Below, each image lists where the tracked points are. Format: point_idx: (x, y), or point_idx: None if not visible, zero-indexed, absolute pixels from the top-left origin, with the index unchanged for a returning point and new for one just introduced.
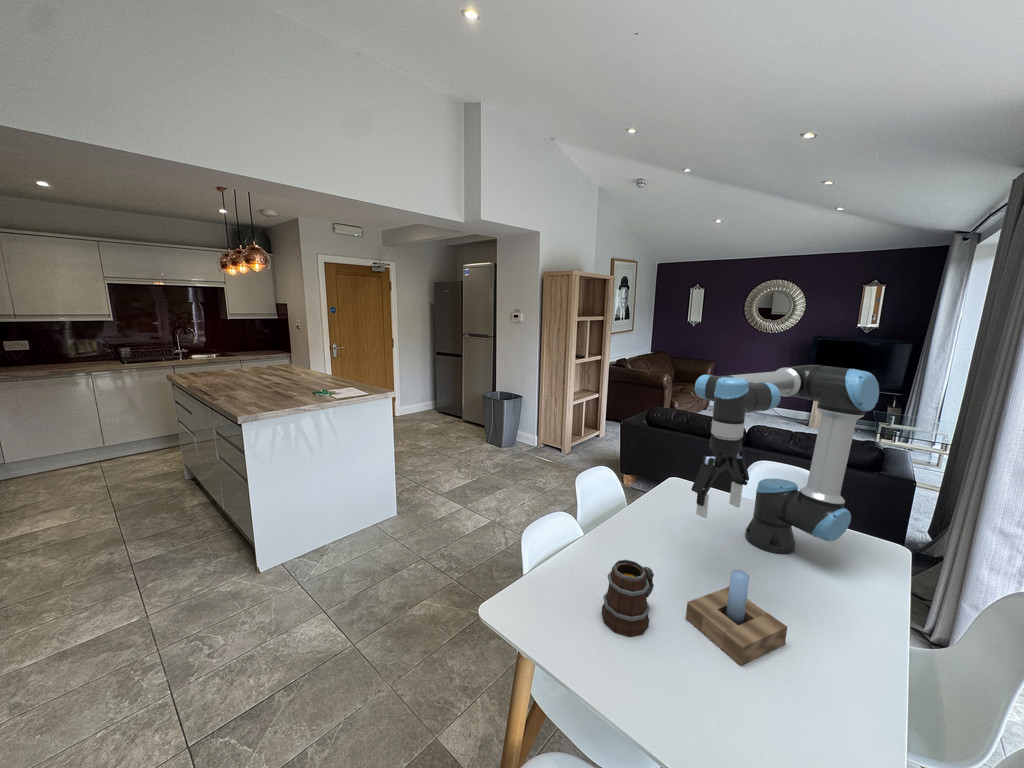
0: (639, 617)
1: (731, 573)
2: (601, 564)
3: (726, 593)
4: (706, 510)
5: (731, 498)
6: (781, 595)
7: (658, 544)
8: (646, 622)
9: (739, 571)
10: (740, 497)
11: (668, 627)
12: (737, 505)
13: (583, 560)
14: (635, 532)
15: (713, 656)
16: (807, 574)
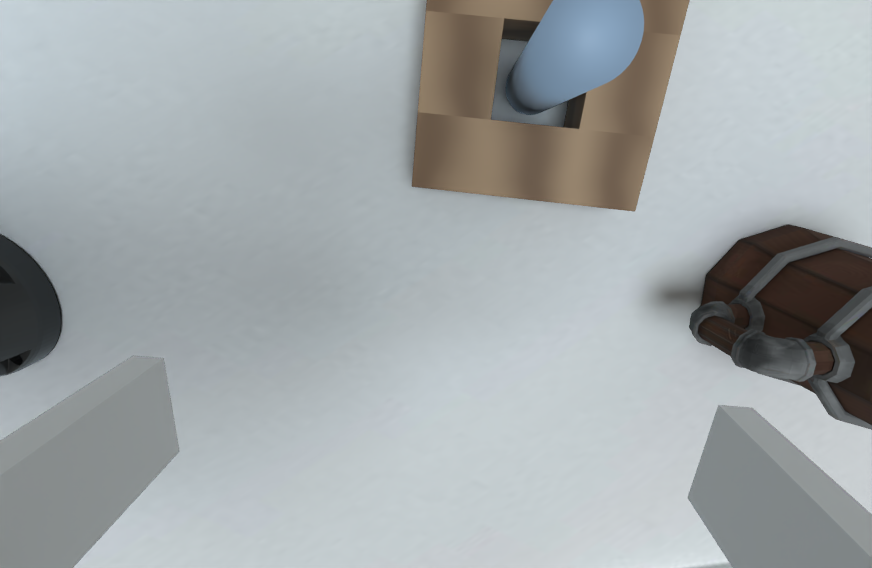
0: (859, 244)
1: (623, 70)
2: (606, 481)
3: (460, 166)
4: (810, 480)
5: (123, 492)
6: (212, 107)
7: (361, 462)
8: (779, 239)
9: (562, 57)
10: (15, 442)
11: (692, 205)
12: (150, 380)
13: (637, 516)
14: (376, 530)
15: (696, 48)
16: (15, 124)
